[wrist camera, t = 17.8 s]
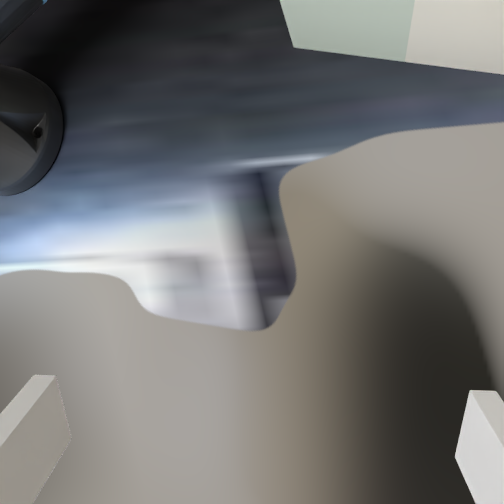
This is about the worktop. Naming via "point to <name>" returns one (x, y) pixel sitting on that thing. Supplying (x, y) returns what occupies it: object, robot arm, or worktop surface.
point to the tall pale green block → (403, 30)
